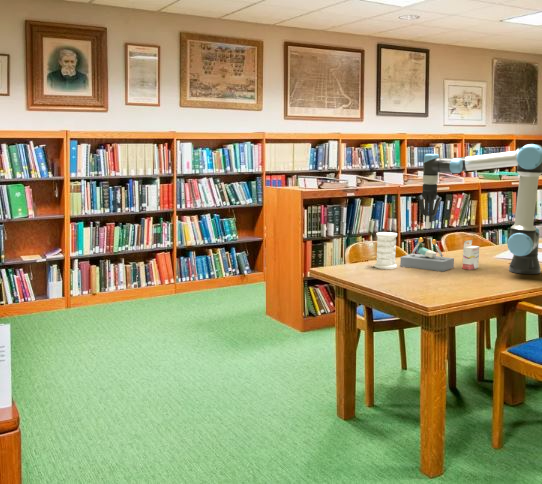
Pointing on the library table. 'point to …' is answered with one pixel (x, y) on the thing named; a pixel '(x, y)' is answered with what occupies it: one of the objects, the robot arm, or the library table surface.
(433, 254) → the rocker mid
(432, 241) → the lever near
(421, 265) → the console
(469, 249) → the ink cartridge box
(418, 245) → the lever far
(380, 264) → the decorative container
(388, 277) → the library table surface
